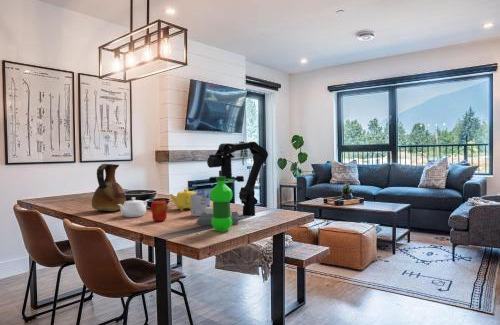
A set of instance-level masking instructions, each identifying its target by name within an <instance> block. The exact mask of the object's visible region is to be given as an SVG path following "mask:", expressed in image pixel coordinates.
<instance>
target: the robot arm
mask: <svg viewBox="0 0 500 325" xmlns="http://www.w3.org/2000/svg"><path fill="white" fill-rule="evenodd" d="M244 150H249V151H250V153H251V154H252V161H253V162H252V166H251V169H250V172H249V175H248V178H247V181H246V184H245V185H244V187H243V186H241V187H240V190H239V193H238V198H239V200H240V203H241V204H243V205H242V214H243V216H256V205H258V202H259V201H258V199H257V198H256V197H255V194H256V193H255V192H256V190H255V186H256V183H257V180H258V177H259V174H260V172H261V168H262V166H263V164H264V163H265V162H266V161H267V158H268V156H269V153H268V151H267V149H265V148H264V147H263V146H261V145H259V144H258V143H257V142H256V141H248V142H247V141H246V142H241V143H229V142H228V143H225V142H224V143H220V144H219V145H218V149H217V151H216V152H215V154H209V155H208V158H207V162H206V163H207V167H208V168H209V169H211V168H220V170H218V177H219V176H225V177H226V181H225V185H226V186H228V187H229V188H230V189H231V186H232V185H233V184H234V182H235V181H237V183H243V182H244V181H245V180H244V179H245V177H244V175H236V176H235V177H233V172H232V159H234V158H235V156H234V155H233V154H234V153H235V152H237V151H244ZM216 177H217V176H210V177H209V178H208V183H209V184H212V183H213V184H214V183H216V182H217V181H216ZM226 182H227V183H226Z"/></svg>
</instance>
